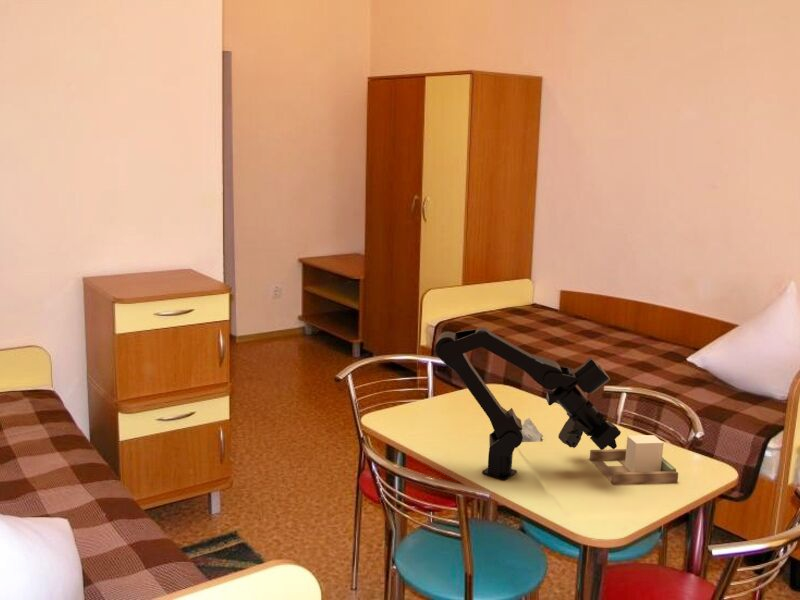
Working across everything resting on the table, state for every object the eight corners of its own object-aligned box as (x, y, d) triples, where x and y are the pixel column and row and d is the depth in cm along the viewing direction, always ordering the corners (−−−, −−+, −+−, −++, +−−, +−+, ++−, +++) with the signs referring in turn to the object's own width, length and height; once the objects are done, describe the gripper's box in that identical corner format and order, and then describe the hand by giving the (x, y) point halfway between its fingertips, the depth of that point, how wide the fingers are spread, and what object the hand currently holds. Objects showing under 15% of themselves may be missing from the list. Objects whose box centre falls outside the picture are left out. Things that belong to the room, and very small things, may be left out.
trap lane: (612, 490, 184) (614, 472, 183) (589, 464, 199) (590, 448, 198) (676, 488, 186) (678, 471, 185) (648, 463, 201) (650, 446, 200)
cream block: (633, 474, 190) (636, 443, 188) (624, 466, 195) (627, 435, 193) (660, 473, 191) (663, 442, 189) (650, 465, 196) (654, 435, 194)
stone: (546, 433, 221) (547, 419, 220) (539, 447, 209) (540, 432, 209) (523, 430, 223) (524, 416, 222) (515, 443, 211) (516, 429, 211)
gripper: (538, 413, 196) (576, 454, 200) (563, 441, 178) (605, 486, 181) (571, 383, 195) (609, 425, 199) (600, 408, 177) (640, 454, 181)
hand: (614, 447), depth 190 cm, fingers closed
